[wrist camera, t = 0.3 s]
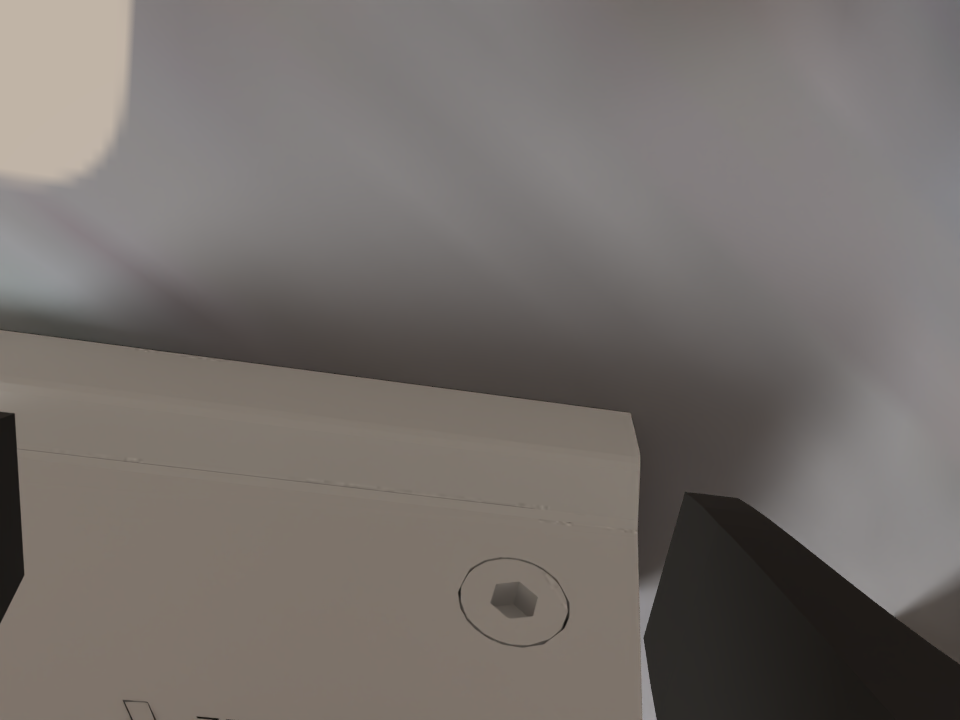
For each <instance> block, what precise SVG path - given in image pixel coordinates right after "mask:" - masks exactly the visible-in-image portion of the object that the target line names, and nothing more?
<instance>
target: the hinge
mask: <svg viewBox="0 0 960 720" xmlns="http://www.w3.org/2000/svg"><path fill="white" fill-rule="evenodd" d="M0 412H8V413H15V424H16V441H17V457H18V474H19V491H20V508H21V524H22V541H23V558H24V574H25V575H24V577H23V579H22V581H21V583H20V585H19V587H18V589H17V591H16V593H15V595H14V597H13V599H12V601H11V603H10V605H9V607H8V609H7V611H6V613H5V615H4V617H3V619H2V621H1V623H0V720H642V689H641V647H640V606H639V565H638V506H639V485H640V451H639V446H638V442H637V438H636V434H635V430H634V425H633V421H632V417H631V413H627V412H619V411H612V410H604V409H597V408H589V407H581V406H574V405H566V404H559V403H551V402H543V401H536V400H528V399H521V398H513V397H505V396H498V395H490V394H483V393H475V392H467V391H460V390H452V389H445V388H437V387H430V386H422V385H414V384H407V383H399V382H392V381H384V380H376V379H369V378H361V377H354V376H346V375H338V374H331V373H323V372H316V371H308V370H300V369H293V368H285V367H278V366H270V365H262V364H255V363H247V362H240V361H232V360H224V359H217V358H209V357H202V356H194V355H186V354H179V353H171V352H164V351H156V350H148V349H141V348H133V347H126V346H118V345H110V344H103V343H95V342H88V341H80V340H72V339H65V338H57V337H50V336H42V335H34V334H27V333H19V332H12V331H4V330H0Z"/></svg>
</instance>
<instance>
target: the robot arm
mask: <svg viewBox="0 0 960 720" xmlns="http://www.w3.org/2000/svg"><path fill="white" fill-rule="evenodd" d="M24 575H25V574H24V558H23V541H22V524H21V508H20V491H19V474H18V457H17V441H16V424H15V413H8V412H0V623H1V621H2V619H3V617H4V615H5V613H6V611H7V609H8V607H9V605H10V603H11V601H12V599H13V597H14V595H15V593H16V591H17V589H18V587H19V585H20V583H21V581H22V579H23V577H24ZM644 644H645V650H646V657H647V664H648V670H649V677H650V684H651V689H652V695H653V701H654V706H655V712H656V717H657V720H960V665H959V664H958V663H957V662H955V661H954V660H952V659H951V658H950V657H948V656H947V655H945V654H944V653H943V652H941V651H940V650H938V649H937V648H935V647H934V646H933V645H931V644H930V643H928V642H927V641H926V640H924V639H923V638H922V637H920V636H919V635H918V634H916V633H915V632H914V631H912V630H911V629H910V628H908V627H907V626H906V625H904V624H903V623H902V622H900V621H899V620H898V619H896V618H895V617H894V616H892V615H891V614H890V613H888V612H887V611H886V610H885V609H883V608H882V607H881V606H879V605H878V604H877V603H875V602H874V601H873V600H872V599H870V598H869V597H868V596H866V595H865V594H864V593H863V592H861V591H860V590H859V589H857V588H856V587H855V586H854V585H852V584H851V583H850V582H848V581H847V580H846V579H845V578H843V577H842V576H841V575H840V574H838V573H837V572H836V571H835V570H833V569H832V568H831V567H829V566H828V565H827V564H826V563H824V562H823V561H822V560H821V559H819V558H818V557H817V556H816V555H814V554H813V553H812V552H811V551H809V550H808V549H807V548H806V547H804V546H803V545H802V544H800V543H799V542H798V541H797V540H795V539H794V538H793V537H792V536H790V535H789V534H788V533H786V532H785V531H784V530H782V529H781V528H780V527H779V526H777V525H776V524H775V523H773V522H772V521H771V520H769V519H768V518H767V517H765V516H764V515H763V514H761V513H760V512H758V511H757V510H755V509H754V508H753V507H751V506H749V505H748V504H746V503H745V502H743V501H742V500H740V499H738V498H731V497H722V496H714V495H705V494H697V493H688V492H685V495H684V498H683V502H682V505H681V509H680V512H679V516H678V519H677V523H676V526H675V530H674V533H673V537H672V540H671V544H670V547H669V551H668V554H667V558H666V561H665V565H664V568H663V572H662V575H661V579H660V582H659V586H658V589H657V593H656V596H655V600H654V603H653V607H652V610H651V614H650V617H649V621H648V624H647V628H646V631H645V635H644Z"/></svg>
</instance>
